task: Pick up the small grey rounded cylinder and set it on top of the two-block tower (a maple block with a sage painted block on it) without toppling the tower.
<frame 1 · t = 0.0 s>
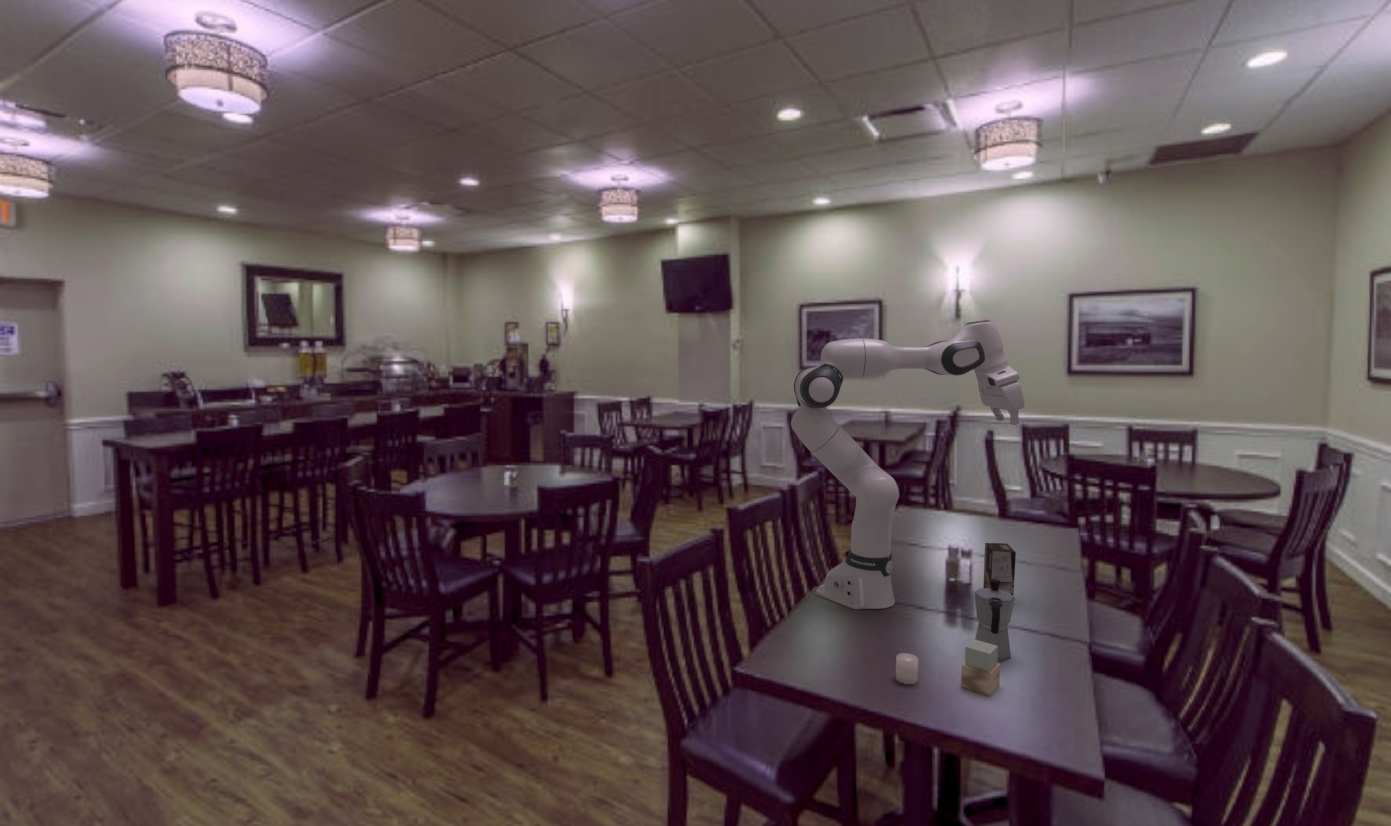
hand: (1007, 422, 185), 52 cm above the table, tool tilted 20°, fingers open, 8 cm apart
coffee maker: (992, 655, 157), on the table
tower top: (981, 664, 142), point 5 cm above the table, touching tower base
tower base: (980, 686, 142), on the table, touching tower top
grey rounded cylinder: (906, 679, 145), on the table
coffee box: (997, 602, 190), on the table
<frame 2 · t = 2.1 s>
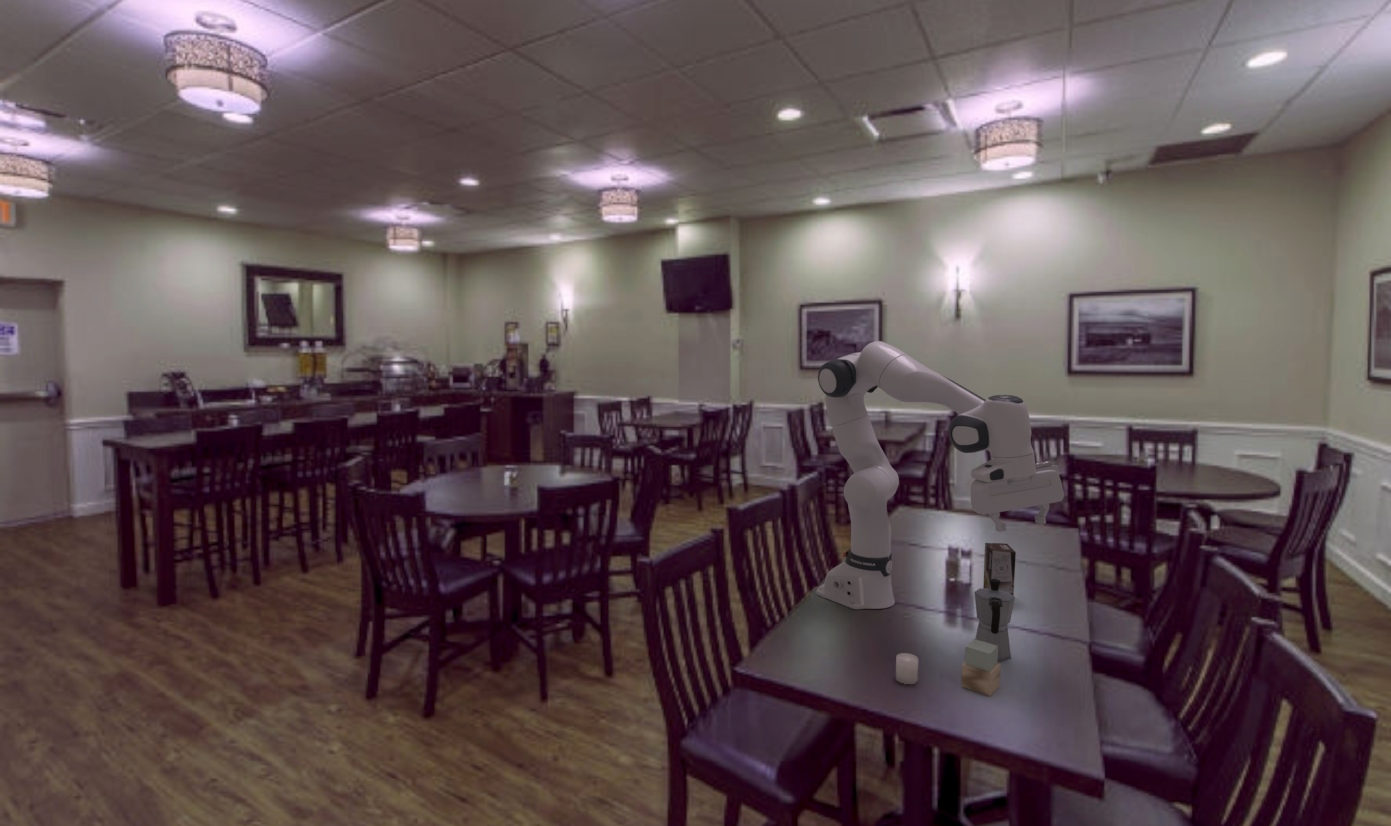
hand: (1021, 527, 148), 32 cm above the table, tool pointing down, fingers open, 8 cm apart
nothing on the table moved.
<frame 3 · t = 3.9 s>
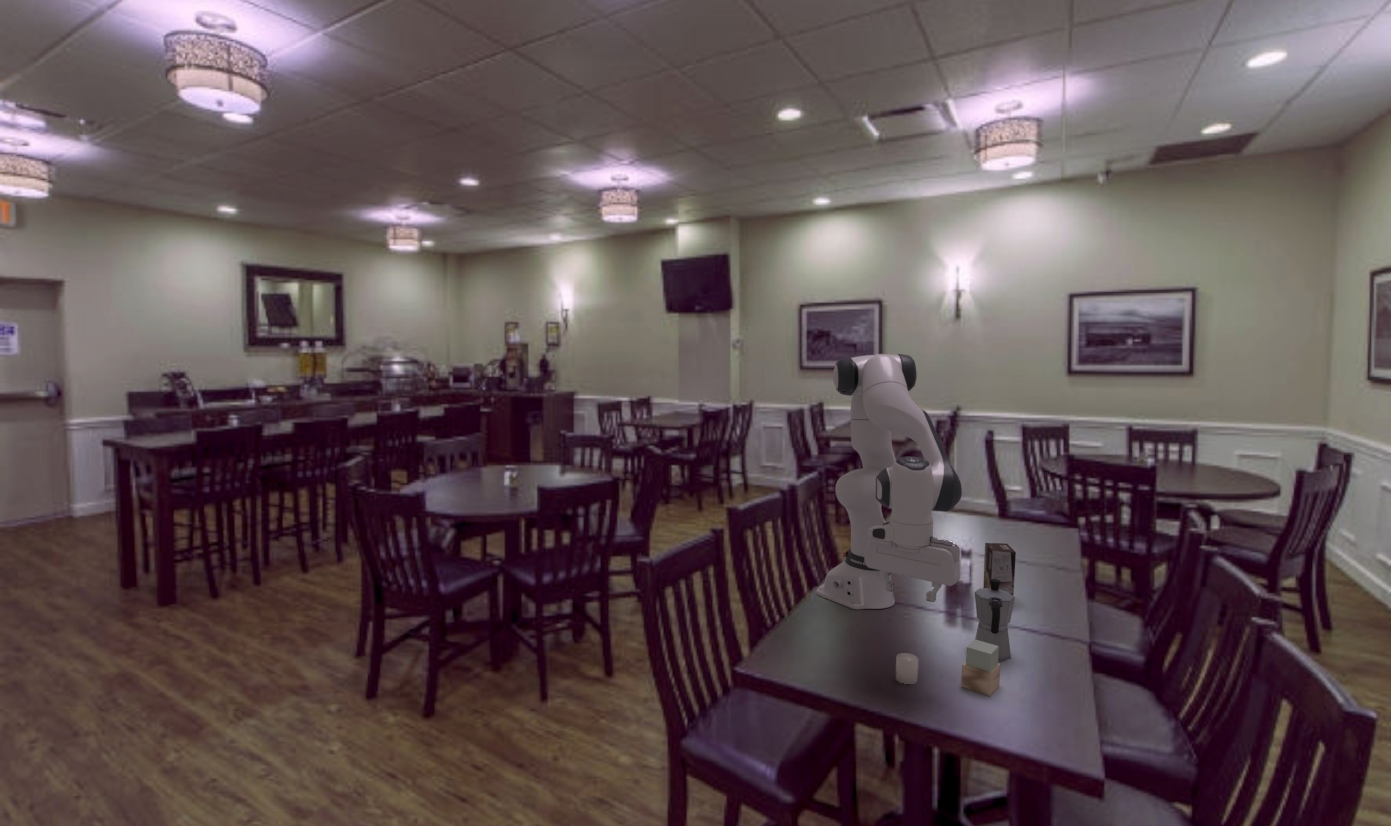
hand: (909, 595, 143), 19 cm above the table, tool pointing down, fingers open, 8 cm apart
nothing on the table moved.
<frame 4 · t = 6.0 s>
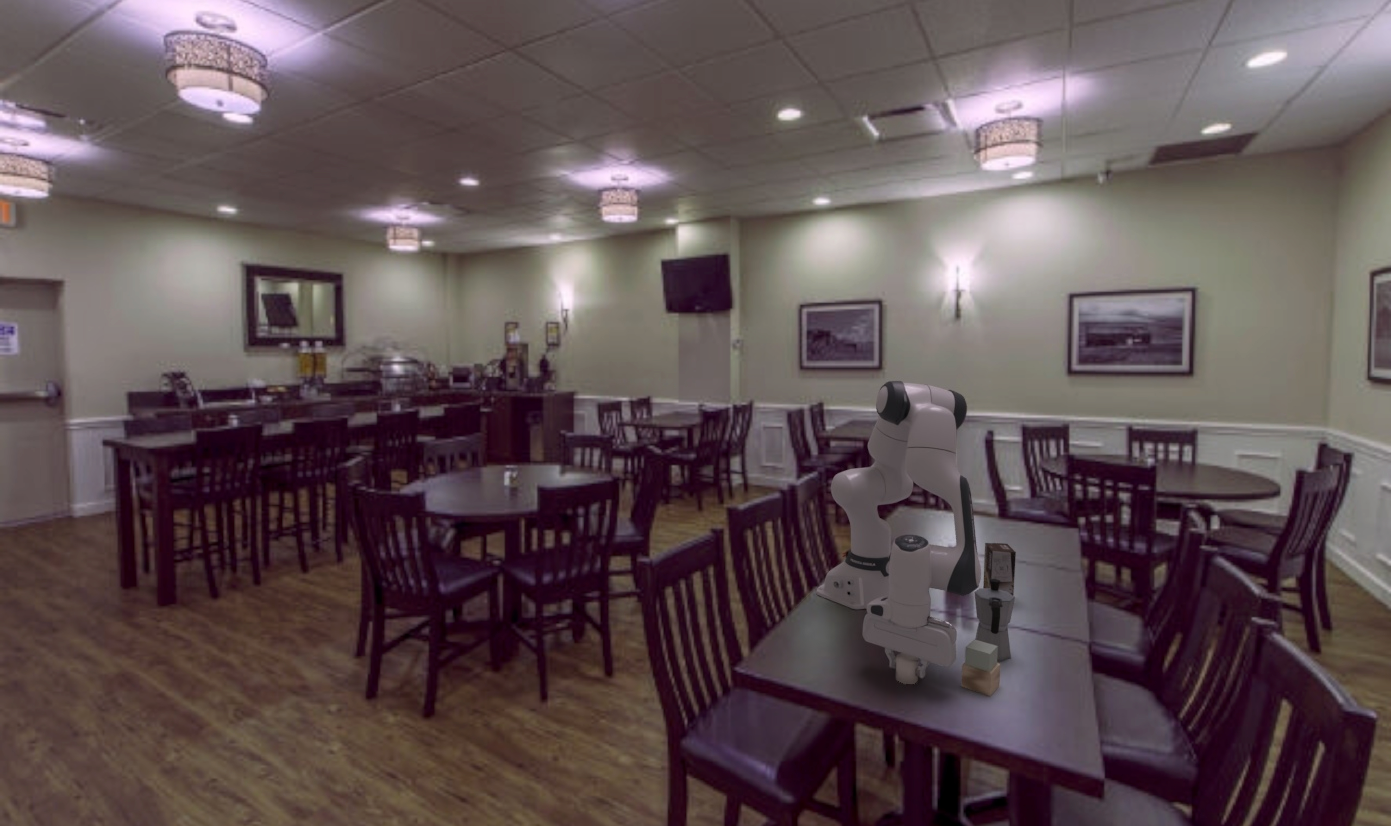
hand: (906, 671, 145), 2 cm above the table, tool pointing down, fingers closed on grey rounded cylinder, 5 cm apart
grey rounded cylinder: (906, 679, 145), on the table, touching gripper
everything else where it was.
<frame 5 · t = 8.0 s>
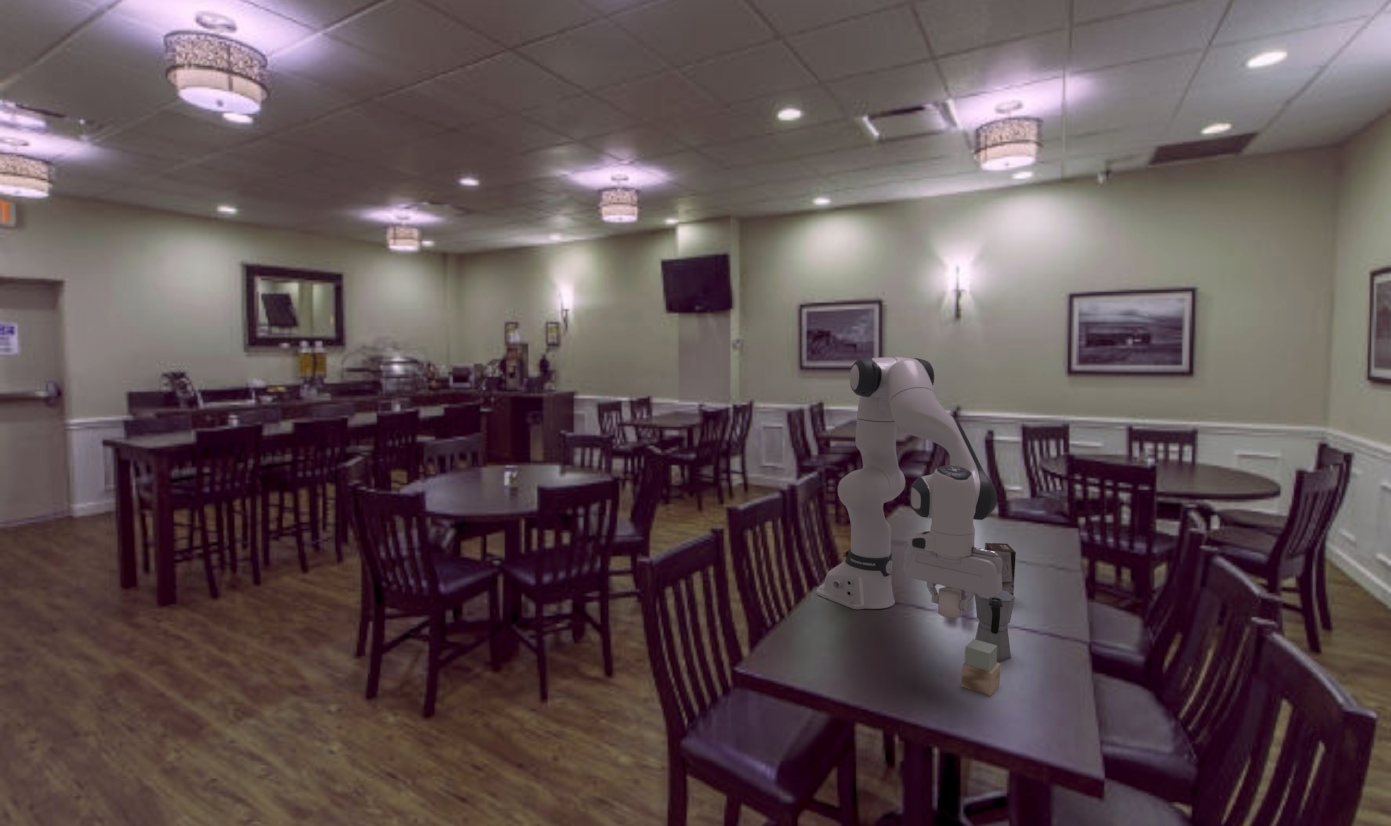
hand: (949, 606, 142), 17 cm above the table, tool pointing down, fingers closed on grey rounded cylinder, 5 cm apart
tower top: (980, 663, 142), point 5 cm above the table
tower base: (980, 686, 142), on the table
grey rounded cylinder: (949, 613, 142), point 16 cm above the table, touching gripper
everything else where it was.
when the fingers open (12 cm above the table, at t = 10.0 s): grey rounded cylinder drops 1 cm, resting on tower top.
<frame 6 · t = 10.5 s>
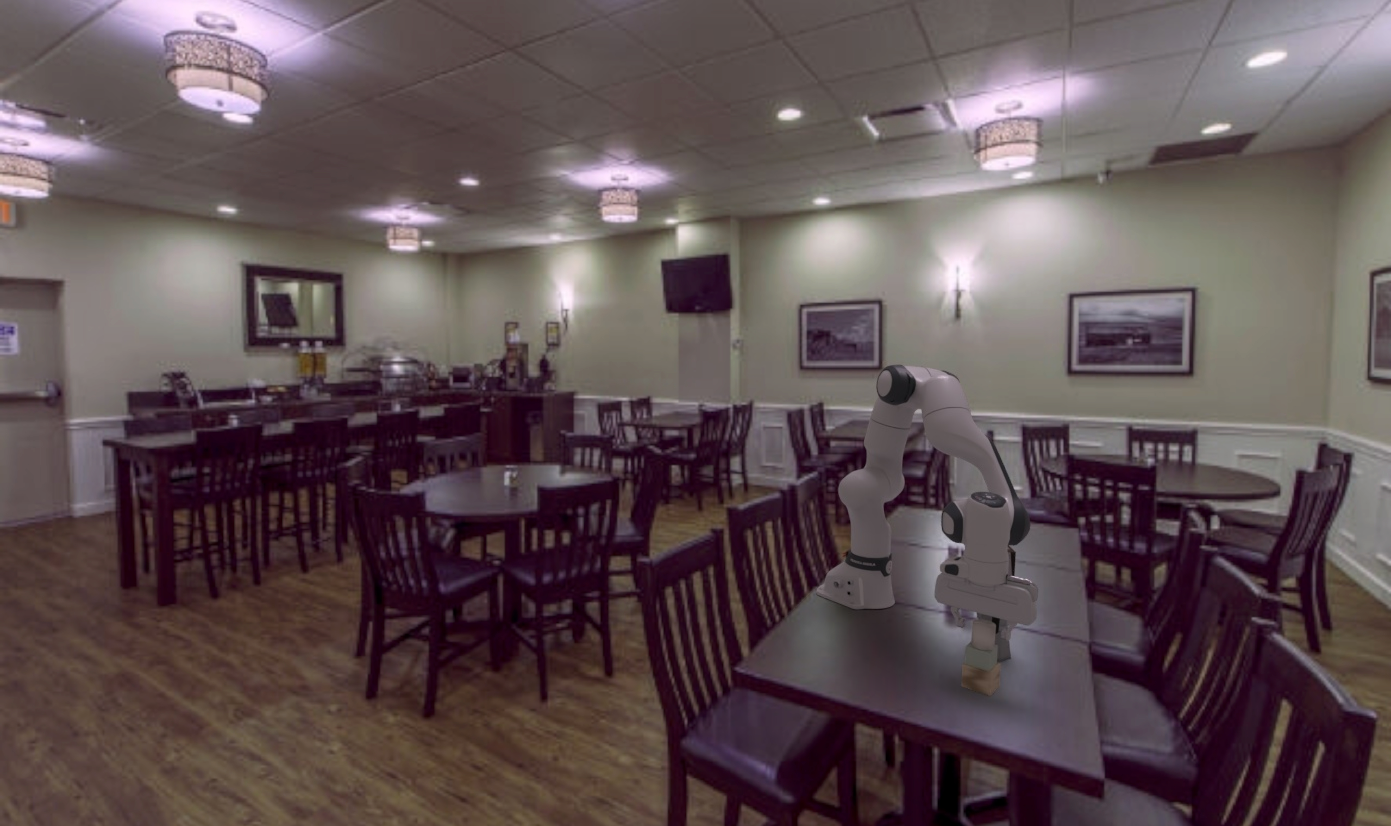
hand: (982, 632, 141), 12 cm above the table, tool pointing down, fingers open, 8 cm apart
tower top: (980, 663, 142), point 5 cm above the table, touching grey rounded cylinder, tower base
tower base: (980, 686, 142), on the table, touching tower top
grey rounded cylinder: (982, 646, 141), point 9 cm above the table, touching tower top
everything else where it was.
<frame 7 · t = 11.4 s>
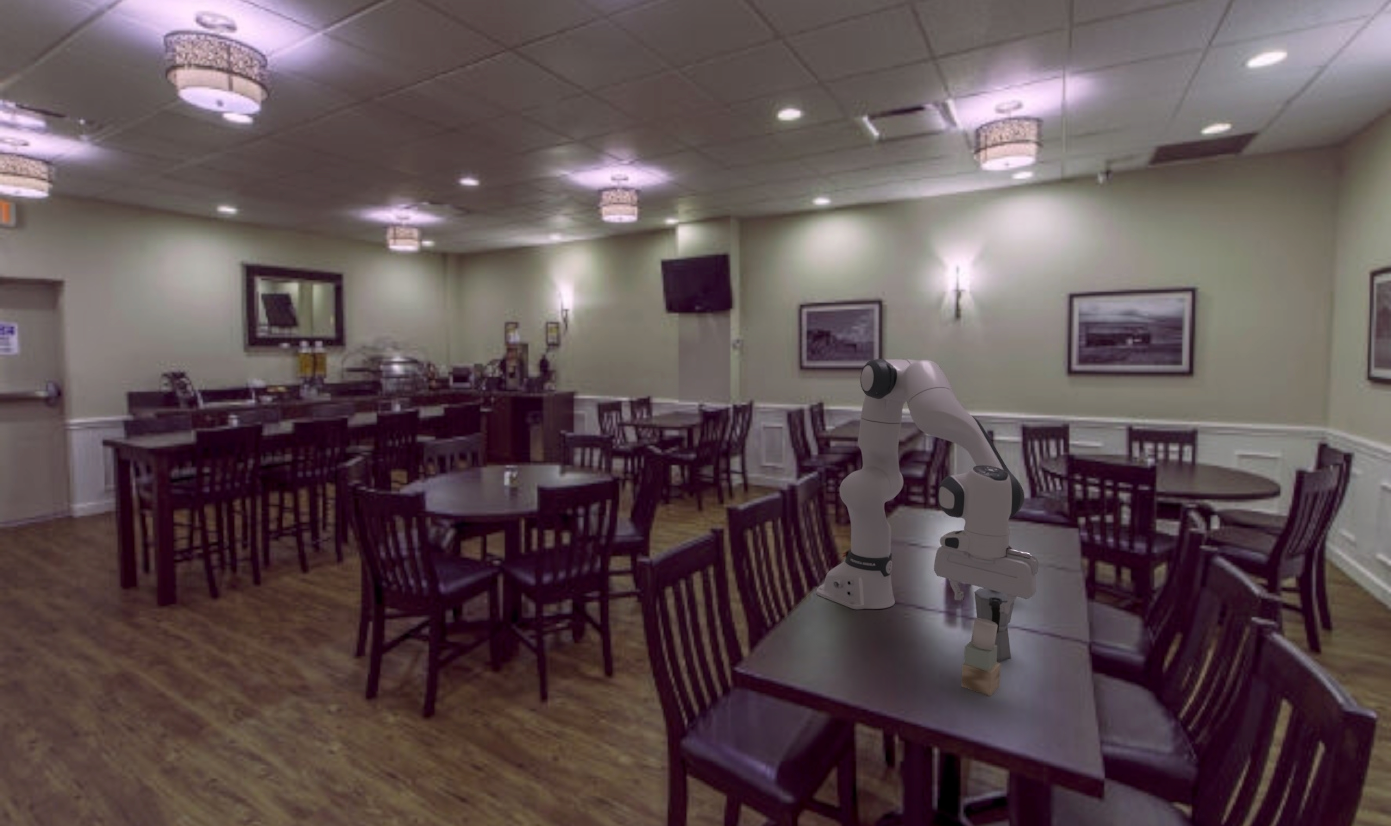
hand: (981, 606, 141), 18 cm above the table, tool pointing down, fingers open, 8 cm apart
nothing on the table moved.
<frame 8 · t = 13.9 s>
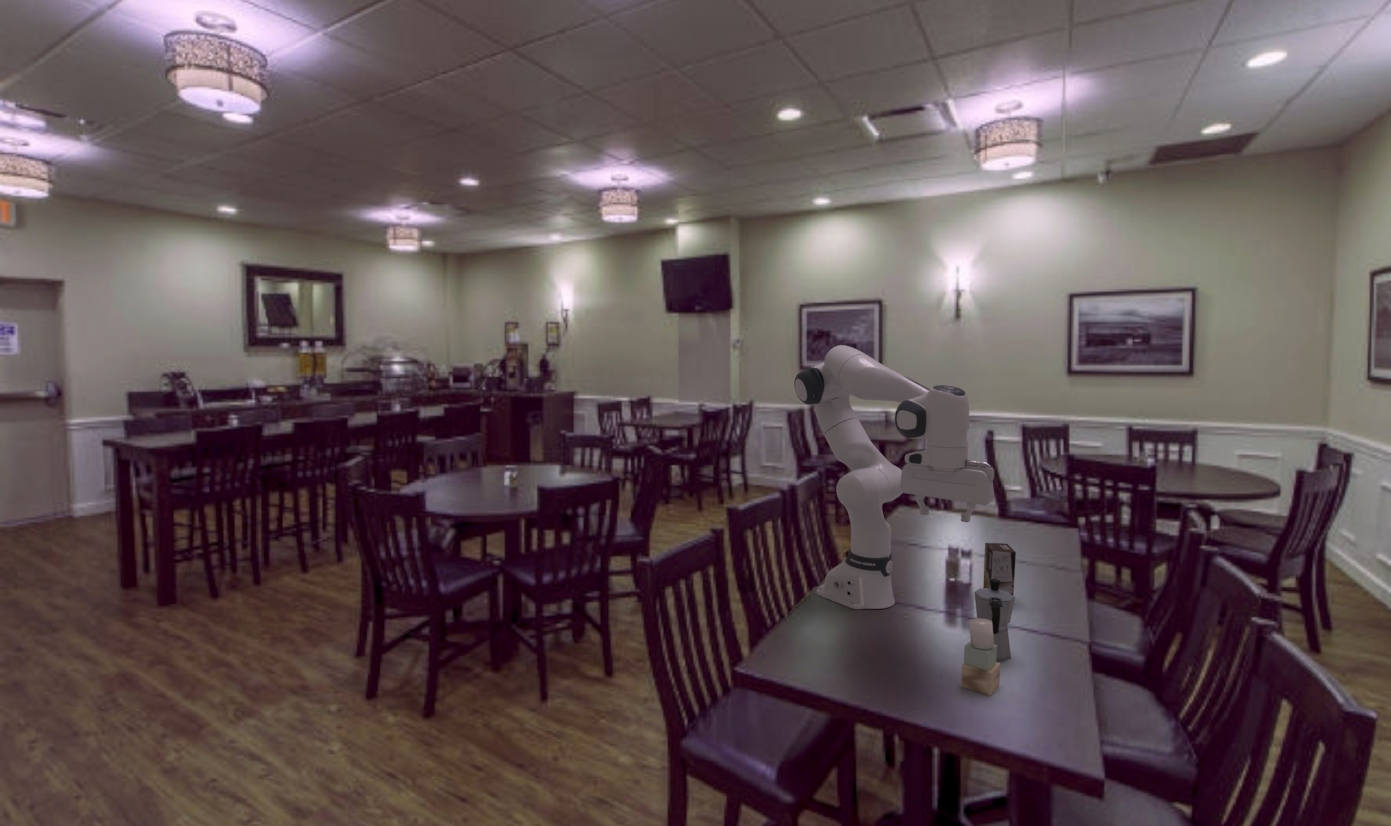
hand: (944, 517, 150), 34 cm above the table, tool pointing down, fingers open, 8 cm apart
at the end: grey rounded cylinder 0.5 cm off-centre on the tower top, point 4.3 cm above the tower top's base; tower top tilted 0°; tower top point 4.9 cm above the table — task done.
